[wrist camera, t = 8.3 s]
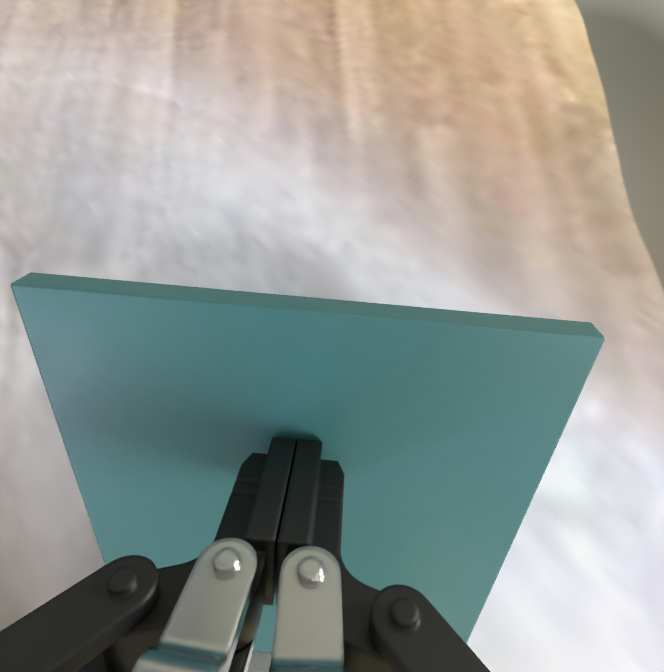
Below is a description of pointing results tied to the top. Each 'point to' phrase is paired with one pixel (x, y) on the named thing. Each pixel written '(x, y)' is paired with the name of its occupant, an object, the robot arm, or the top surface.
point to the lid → (307, 419)
